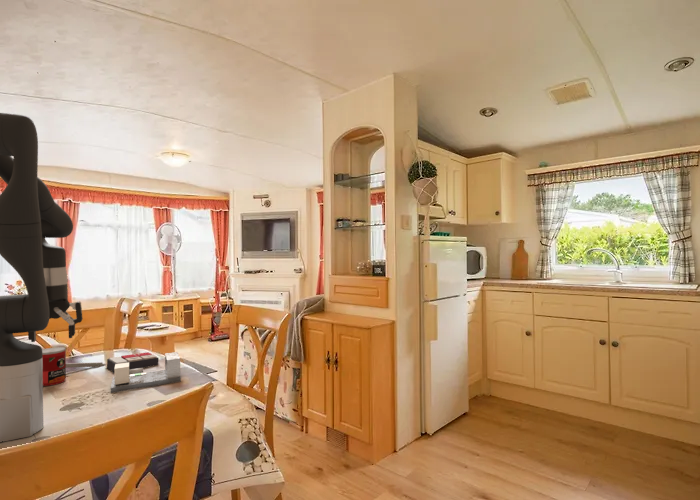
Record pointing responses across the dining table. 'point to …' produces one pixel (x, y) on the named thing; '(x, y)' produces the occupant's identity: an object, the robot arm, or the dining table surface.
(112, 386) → the gauge base
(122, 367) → the block
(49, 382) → the canned food
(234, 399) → the dining table surface
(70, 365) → the caliper
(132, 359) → the calculator
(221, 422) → the dining table surface
